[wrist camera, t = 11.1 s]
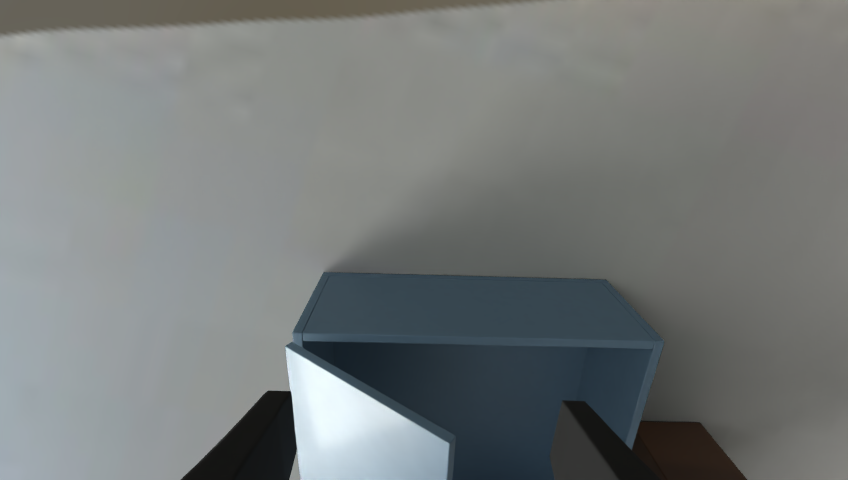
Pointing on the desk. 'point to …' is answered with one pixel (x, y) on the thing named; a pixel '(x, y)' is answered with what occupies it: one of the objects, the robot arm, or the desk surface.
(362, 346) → the carton
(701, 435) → the walnut block
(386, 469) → the flap
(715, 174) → the desk surface
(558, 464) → the robot arm
